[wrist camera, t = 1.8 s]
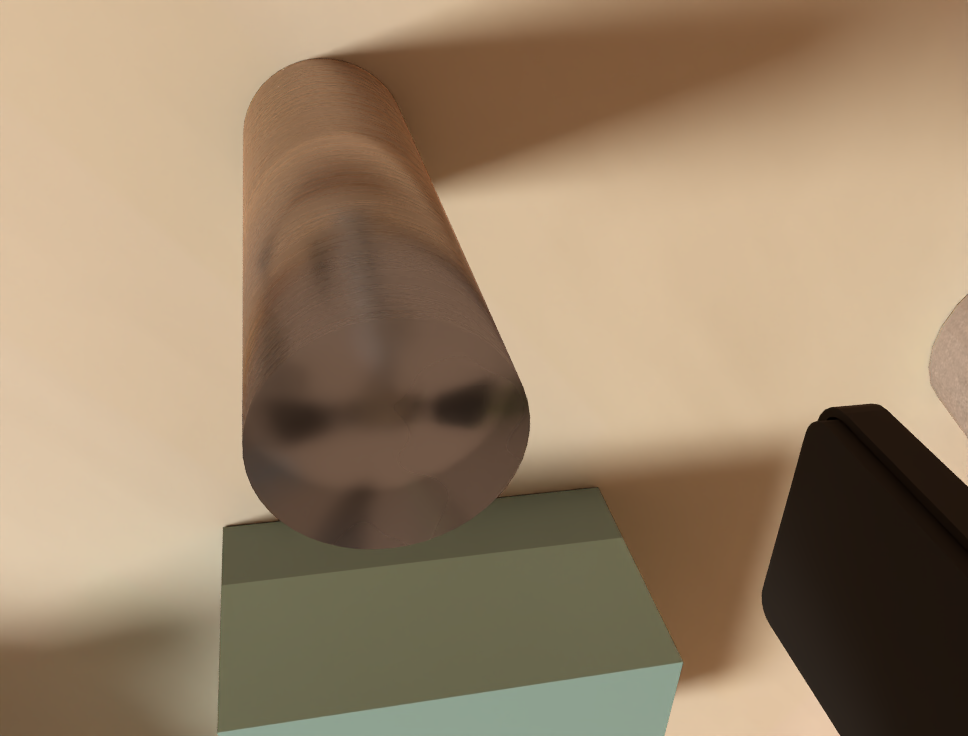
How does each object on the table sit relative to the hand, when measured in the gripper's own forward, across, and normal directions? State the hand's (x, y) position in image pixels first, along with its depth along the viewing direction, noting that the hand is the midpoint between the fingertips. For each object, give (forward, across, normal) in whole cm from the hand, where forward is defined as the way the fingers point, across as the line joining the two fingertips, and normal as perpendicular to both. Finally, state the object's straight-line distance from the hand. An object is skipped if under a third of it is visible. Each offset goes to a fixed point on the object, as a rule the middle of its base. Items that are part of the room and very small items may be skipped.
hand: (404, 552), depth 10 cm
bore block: (+11, -2, +14) cm, 18 cm away
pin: (+11, 0, -1) cm, 11 cm away
